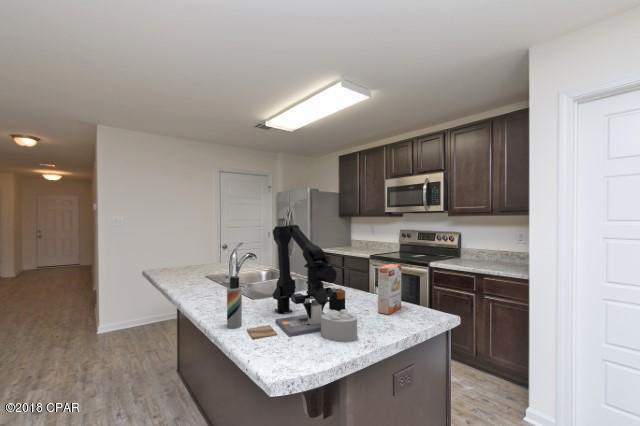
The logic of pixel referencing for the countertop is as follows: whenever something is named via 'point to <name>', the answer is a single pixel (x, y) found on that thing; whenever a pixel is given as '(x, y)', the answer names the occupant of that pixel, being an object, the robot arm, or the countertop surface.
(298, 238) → the robot arm
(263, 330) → the rest pad
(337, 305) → the battery
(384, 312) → the cracker box
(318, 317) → the plug
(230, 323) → the lotion bottle
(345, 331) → the lumpy-topped squat cylinder
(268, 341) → the countertop surface
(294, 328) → the grey square tray
